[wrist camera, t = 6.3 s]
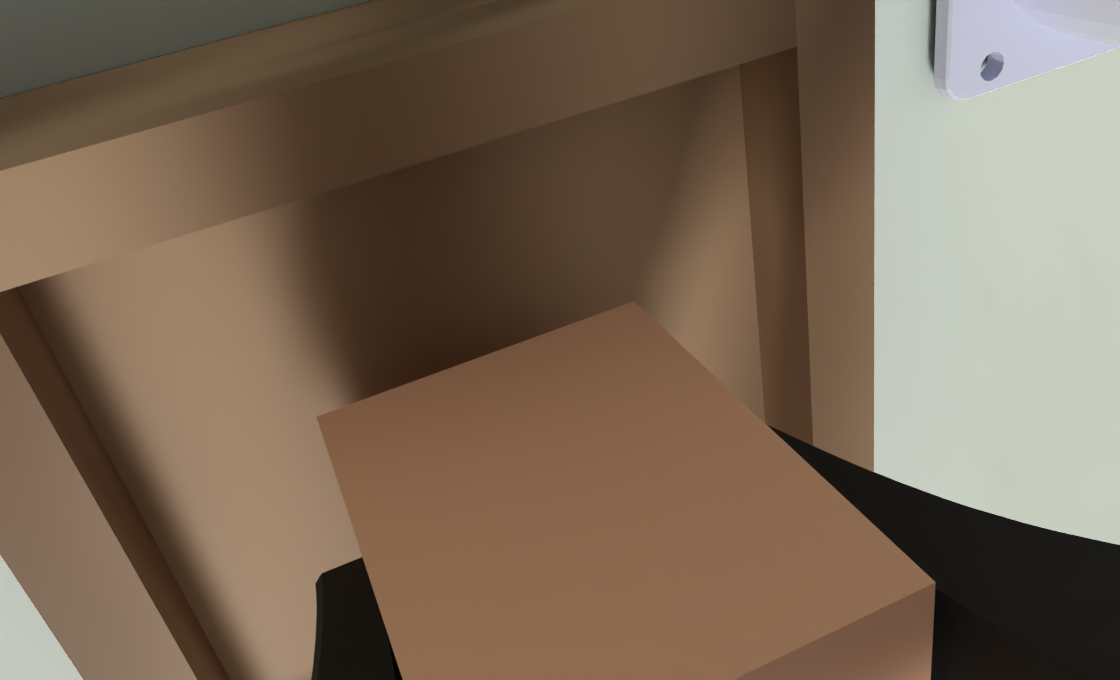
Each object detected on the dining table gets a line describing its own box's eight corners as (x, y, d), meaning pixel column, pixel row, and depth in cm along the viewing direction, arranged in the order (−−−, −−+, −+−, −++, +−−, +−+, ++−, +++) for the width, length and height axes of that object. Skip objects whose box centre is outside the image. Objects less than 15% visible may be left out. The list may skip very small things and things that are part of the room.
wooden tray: (730, -94, 15) (874, -74, 12) (772, 501, 21) (873, 606, 19) (-134, 134, 12) (-214, 230, 9) (220, 742, 18) (237, 910, 16)
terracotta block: (634, 301, 13) (936, 582, 8) (669, 537, 16) (920, 865, 11) (316, 416, 12) (447, 817, 7) (406, 651, 15) (551, 1073, 10)
